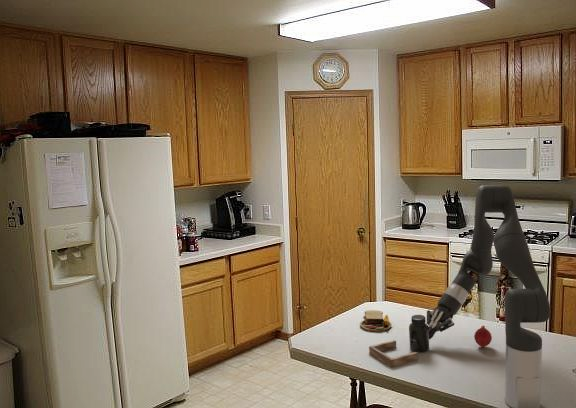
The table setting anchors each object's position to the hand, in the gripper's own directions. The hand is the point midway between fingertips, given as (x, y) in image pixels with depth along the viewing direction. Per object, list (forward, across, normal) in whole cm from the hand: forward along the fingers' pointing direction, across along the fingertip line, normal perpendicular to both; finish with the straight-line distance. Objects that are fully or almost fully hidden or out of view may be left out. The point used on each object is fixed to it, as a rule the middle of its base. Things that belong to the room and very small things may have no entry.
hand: (426, 337), depth 188 cm
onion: (-9, +10, +15) cm, 20 cm away
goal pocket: (+13, 0, -8) cm, 15 cm away
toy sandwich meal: (+6, -27, 0) cm, 28 cm away
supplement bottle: (+5, 0, 0) cm, 5 cm away
